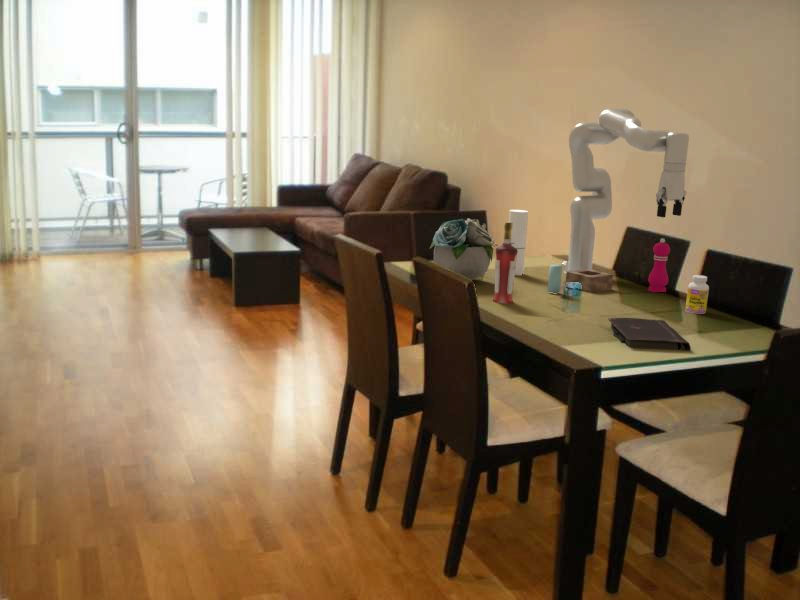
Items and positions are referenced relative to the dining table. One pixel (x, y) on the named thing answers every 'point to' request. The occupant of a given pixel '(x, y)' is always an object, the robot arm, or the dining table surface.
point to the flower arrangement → (463, 247)
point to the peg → (554, 278)
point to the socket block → (591, 279)
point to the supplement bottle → (697, 295)
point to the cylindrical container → (519, 236)
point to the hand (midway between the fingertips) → (668, 216)
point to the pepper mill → (659, 268)
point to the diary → (647, 334)
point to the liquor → (505, 268)
